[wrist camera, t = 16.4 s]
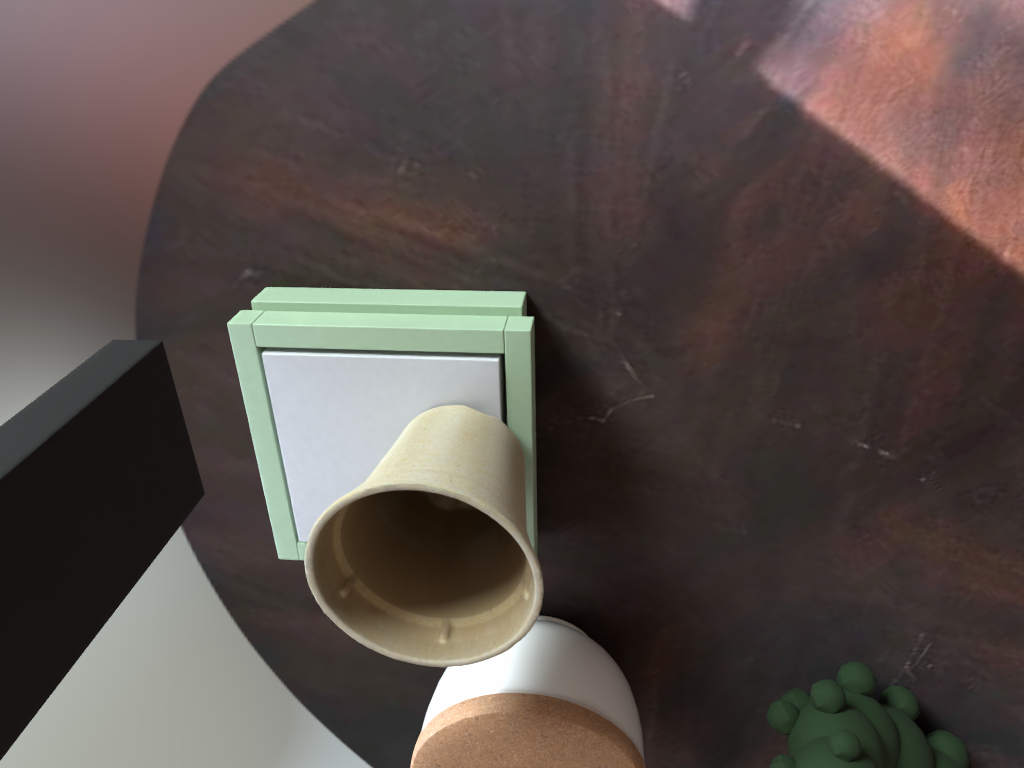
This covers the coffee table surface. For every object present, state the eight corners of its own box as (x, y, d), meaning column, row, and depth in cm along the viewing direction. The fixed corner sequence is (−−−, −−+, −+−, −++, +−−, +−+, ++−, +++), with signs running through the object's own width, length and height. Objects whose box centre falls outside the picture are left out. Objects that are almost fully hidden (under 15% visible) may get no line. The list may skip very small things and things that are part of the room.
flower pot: (473, 564, 41) (441, 701, 33) (329, 457, 38) (259, 578, 31) (598, 460, 37) (594, 588, 29) (445, 334, 34) (398, 437, 27)
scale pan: (274, 339, 37) (260, 353, 36) (503, 345, 36) (499, 360, 35) (308, 523, 43) (298, 541, 41) (510, 534, 41) (506, 553, 40)
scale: (255, 286, 38) (224, 314, 35) (538, 291, 37) (530, 321, 34) (302, 525, 46) (280, 565, 42) (540, 538, 44) (535, 581, 41)
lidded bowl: (677, 693, 49) (693, 873, 39) (508, 743, 53) (484, 918, 43) (580, 552, 44) (571, 717, 34) (403, 620, 48) (351, 784, 39)
